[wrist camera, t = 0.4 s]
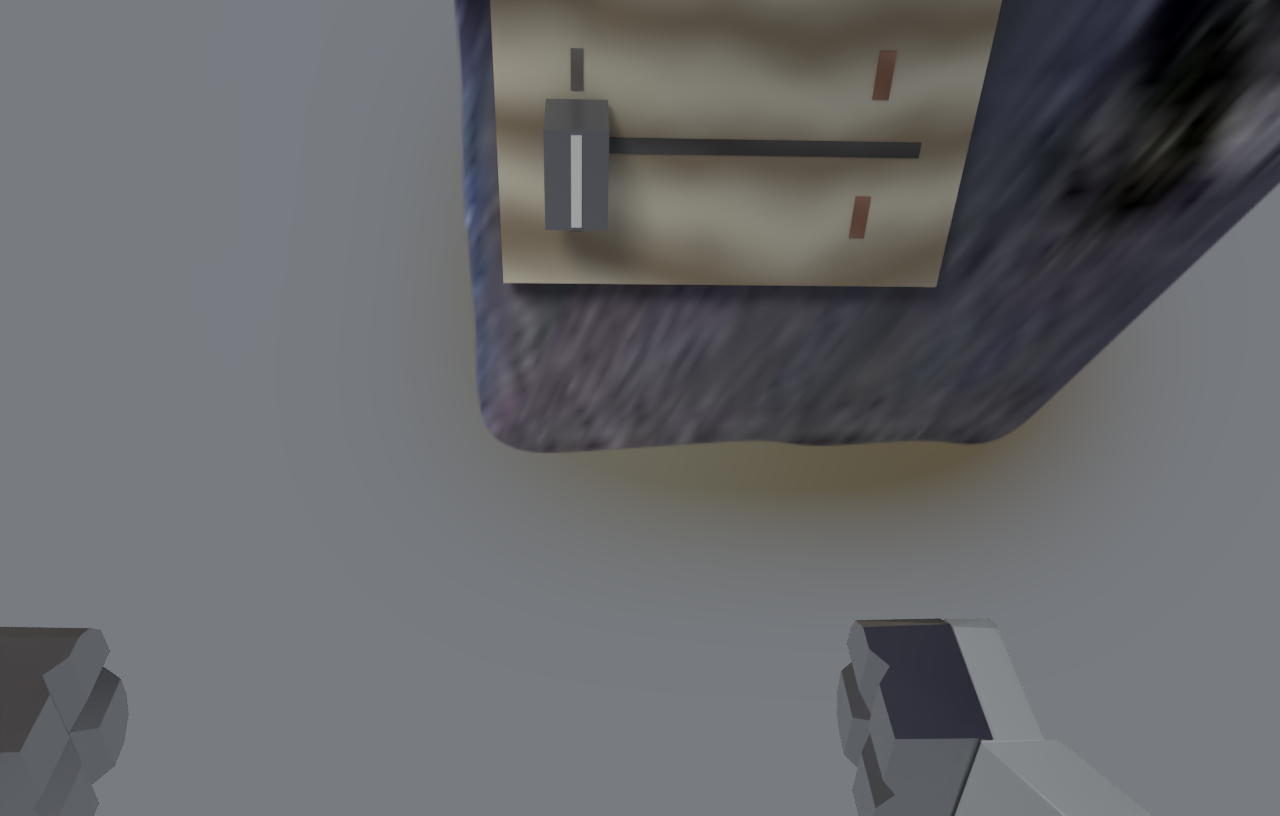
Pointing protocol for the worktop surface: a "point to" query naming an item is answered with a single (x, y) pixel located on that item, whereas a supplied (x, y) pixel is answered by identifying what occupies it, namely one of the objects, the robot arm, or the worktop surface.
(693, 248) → the console
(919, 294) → the worktop surface
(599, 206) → the fader knob
